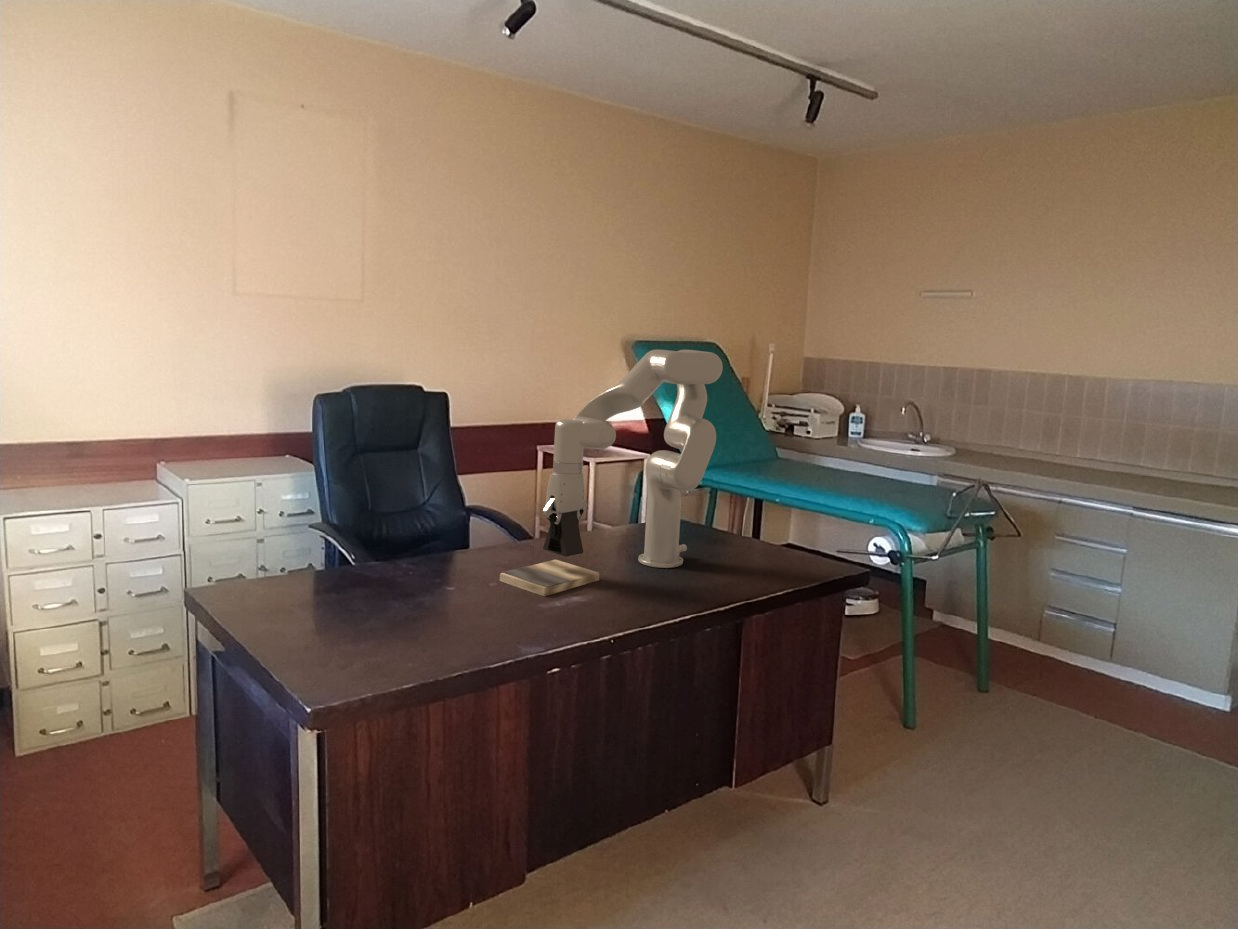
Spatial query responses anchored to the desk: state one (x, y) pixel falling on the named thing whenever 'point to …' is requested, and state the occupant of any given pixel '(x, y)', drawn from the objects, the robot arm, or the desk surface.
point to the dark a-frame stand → (566, 537)
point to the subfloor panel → (549, 577)
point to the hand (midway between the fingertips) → (563, 536)
